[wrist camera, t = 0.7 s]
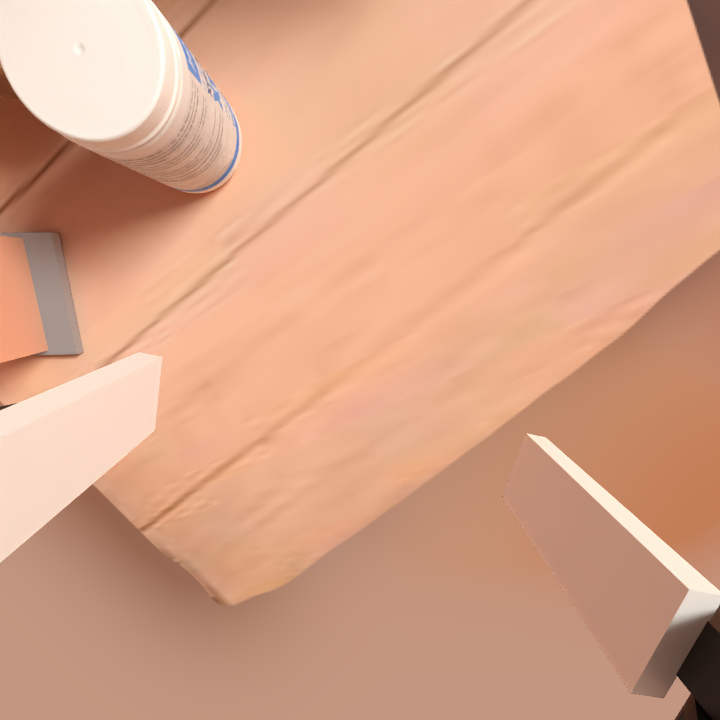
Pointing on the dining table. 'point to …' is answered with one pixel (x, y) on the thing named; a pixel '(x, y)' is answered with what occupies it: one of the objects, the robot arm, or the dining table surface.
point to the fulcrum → (35, 298)
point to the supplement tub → (121, 88)
